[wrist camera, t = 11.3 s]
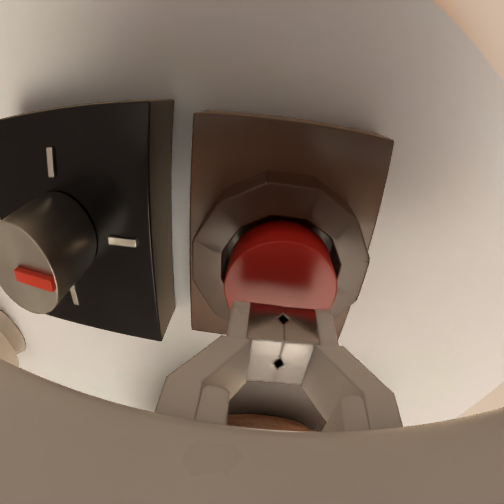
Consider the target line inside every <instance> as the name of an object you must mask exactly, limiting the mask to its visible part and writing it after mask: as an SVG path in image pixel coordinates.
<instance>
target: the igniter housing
mask: <svg viewBox="0 0 504 504" xmlns="http://www.w3.org/2000/svg"><path fill="white" fill-rule="evenodd" d="M393 145H394V141H393V140H391V139H389V138H387V137H384V136H382V135H380V134H377V133H373V132H368V131H364V130H359V129H354V128H349V127H344V126H339V125H333V124H328V123H322V122H316V121H309V120H303V119H296V118H288V117H281V116H272V115H263V114H253V113H241V112H228V111H211V110H206V111H201V112H197V113H194V117H193V134H192V155H191V184H190V297H191V326H192V330H197V331H204V332H211V333H218V334H226V335H227V331H228V326H229V320H230V315H231V309H230V307H229V306H228V304H227V301H226V298H225V294H224V280H225V276H226V272H227V268H228V264H229V260H230V256H231V253H232V250H233V248H234V246H235V244H236V242H237V241H238V240H239V238H240V237H241V236H242V235H243V234H244V233H246V232H247V231H248V230H250V229H251V228H253V227H255V226H257V225H259V224H262V223H265V222H270V221H278V220H283V221H292V222H296V223H299V224H302V225H304V226H306V227H308V228H310V229H311V230H313V231H314V232H315V233H317V234H318V235H319V236H320V237H321V239H322V240H323V241H324V243H325V244H326V246H327V249H328V251H329V254H330V258H331V261H332V264H333V267H334V271H335V274H336V278H337V294H336V298H335V300H334V303H333V305H332V307H331V308H330V311H331V313H332V317H333V322H334V326H335V331H336V335H337V340H338V339H339V336H340V333H341V331H342V328H343V325H344V323H345V320H346V317H347V314H348V311H349V309H350V306H351V305H352V304H353V303H354V302H355V301H356V300H357V298H358V296H359V293H360V290H361V287H362V284H363V281H364V278H365V275H366V272H367V268H368V265H369V260H370V258H369V254H368V249H369V246H370V242H371V239H372V235H373V231H374V228H375V224H376V220H377V216H378V212H379V208H380V204H381V200H382V196H383V192H384V188H385V183H386V179H387V174H388V170H389V165H390V160H391V155H392V150H393Z"/></svg>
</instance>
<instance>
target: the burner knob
mask: <svg viewBox="0 0 504 504" xmlns="http://www.w3.org/2000/svg"><path fill="white" fill-rule="evenodd" d="M96 248H97V243H96V235H95V231H94V228H93V225H92V223H91V221H90V219H89V217H88V215H87V214H86V212H85V211H84V209H83V208H82V207H81V206H80V205H79V204H78V203H77V202H76V201H75V200H74V199H72V198H71V197H69V196H68V195H66V194H63V193H60V192H46V193H44V194H42V195H40V196H38V197H37V198H35V199H33V200H32V201H30V202H29V203H27V204H25V205H24V206H22V207H21V208H19V209H18V210H16V211H14V212H13V213H11V214H10V215H8V216H7V217H5V218H4V219H2V220H1V221H0V286H1V287H2V289H3V290H4V291H5V292H6V294H7V295H8V296H9V297H10V298H11V299H12V300H13V301H14V302H16V303H17V304H18V305H19V306H21V307H22V308H24V309H26V310H28V311H30V312H33V313H37V314H45V313H48V312H50V311H52V310H53V309H54V308H55V307H56V305H57V304H58V303H59V302H60V300H61V299H62V298H63V297H64V295H65V294H66V293H67V292H68V291H69V289H70V288H71V287H72V286H73V285H74V284H75V282H76V281H77V280H78V279H79V278H80V277H81V275H82V274H83V273H84V272H85V271H86V270H87V269H88V267H89V266H90V265H91V264H92V262H93V260H94V258H95V254H96Z"/></svg>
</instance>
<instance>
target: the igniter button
mask: <svg viewBox="0 0 504 504" xmlns="http://www.w3.org/2000/svg"><path fill="white" fill-rule="evenodd" d="M224 294H225V298H226V301H227V304H228V306H229V307H230V309H232V304H233V301H234V300H238V301H246V302H250V304H251V302H255V303H262V304H270V305H278V306H285V307H295V308H307V309H329V310H330V308H331V307H332V305H333V303H334V300H335V298H336V294H337V278H336V274H335V271H334V267H333V264H332V261H331V258H330V254H329V251H328V249H327V246H326V244H325V243H324V241H323V240H322V239H321V237H320V236H319V235H318V234H317V233H315V232H314V231H313V230H311V229H310V228H308V227H306V226H304V225H302V224H299V223H296V222H292V221H283V220H278V221H270V222H265V223H262V224H259V225H257V226H255V227H253V228H251V229H250V230H248V231H247V232H246V233H244V234H243V235H242V236H241V237H240V238H239V240H238V241H237V242H236V244H235V246H234V248H233V250H232V253H231V256H230V260H229V264H228V268H227V272H226V276H225V280H224ZM249 311H250V310H249Z"/></svg>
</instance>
